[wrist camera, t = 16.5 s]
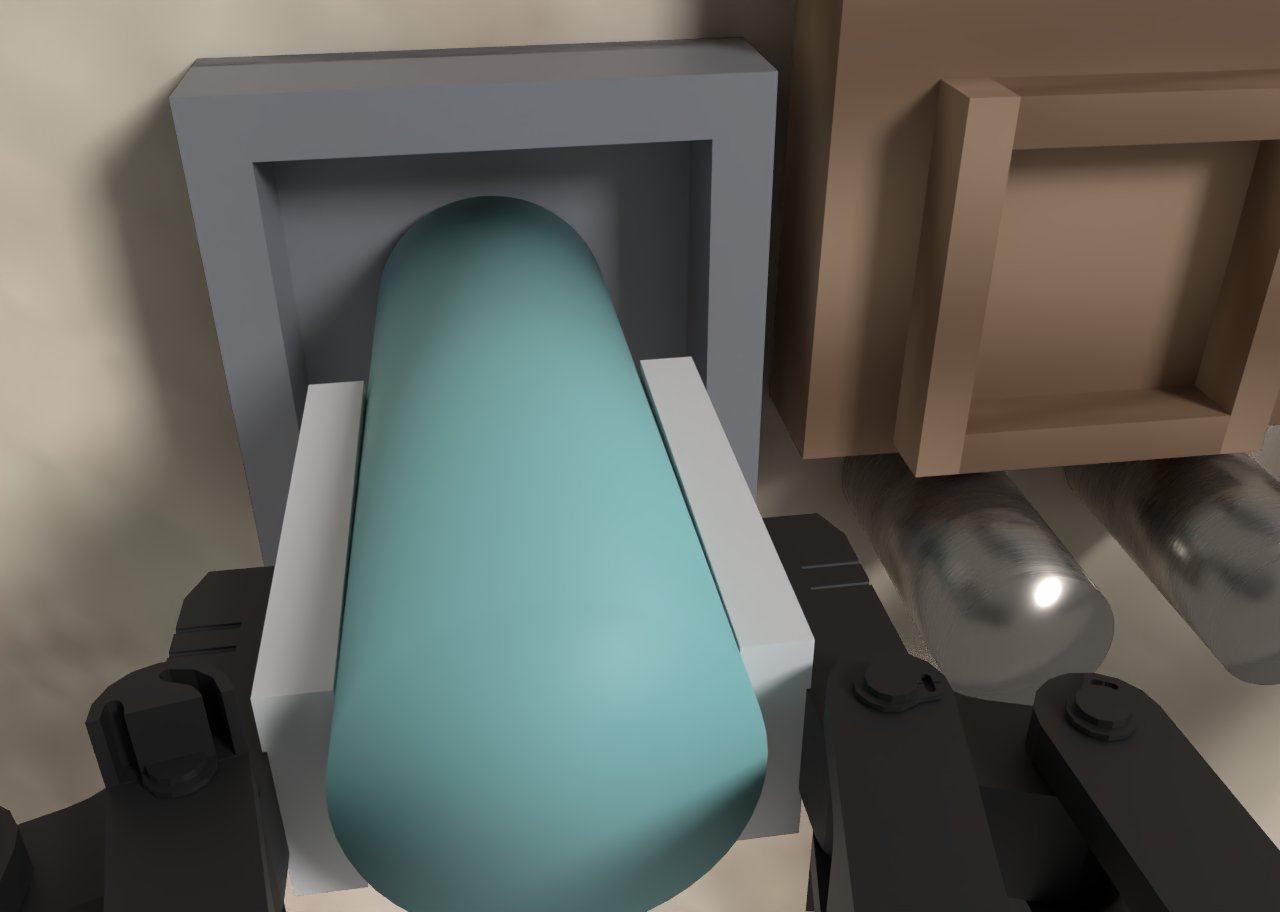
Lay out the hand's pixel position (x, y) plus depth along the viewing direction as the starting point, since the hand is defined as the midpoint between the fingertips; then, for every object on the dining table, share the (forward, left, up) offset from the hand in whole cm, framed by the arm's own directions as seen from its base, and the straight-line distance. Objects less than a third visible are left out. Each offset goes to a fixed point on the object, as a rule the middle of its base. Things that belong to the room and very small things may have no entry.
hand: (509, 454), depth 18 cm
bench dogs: (+4, +11, -6) cm, 13 cm away
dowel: (0, 0, -5) cm, 5 cm away
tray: (0, 0, -6) cm, 6 cm away
